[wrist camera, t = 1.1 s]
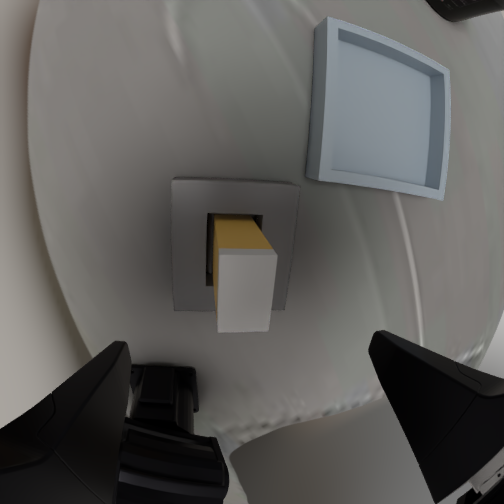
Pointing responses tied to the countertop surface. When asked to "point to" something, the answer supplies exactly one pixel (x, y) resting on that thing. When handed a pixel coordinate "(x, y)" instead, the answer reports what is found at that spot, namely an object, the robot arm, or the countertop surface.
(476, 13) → the supplement bottle
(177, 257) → the block
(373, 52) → the parts tray
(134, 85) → the countertop surface
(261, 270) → the block
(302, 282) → the countertop surface
